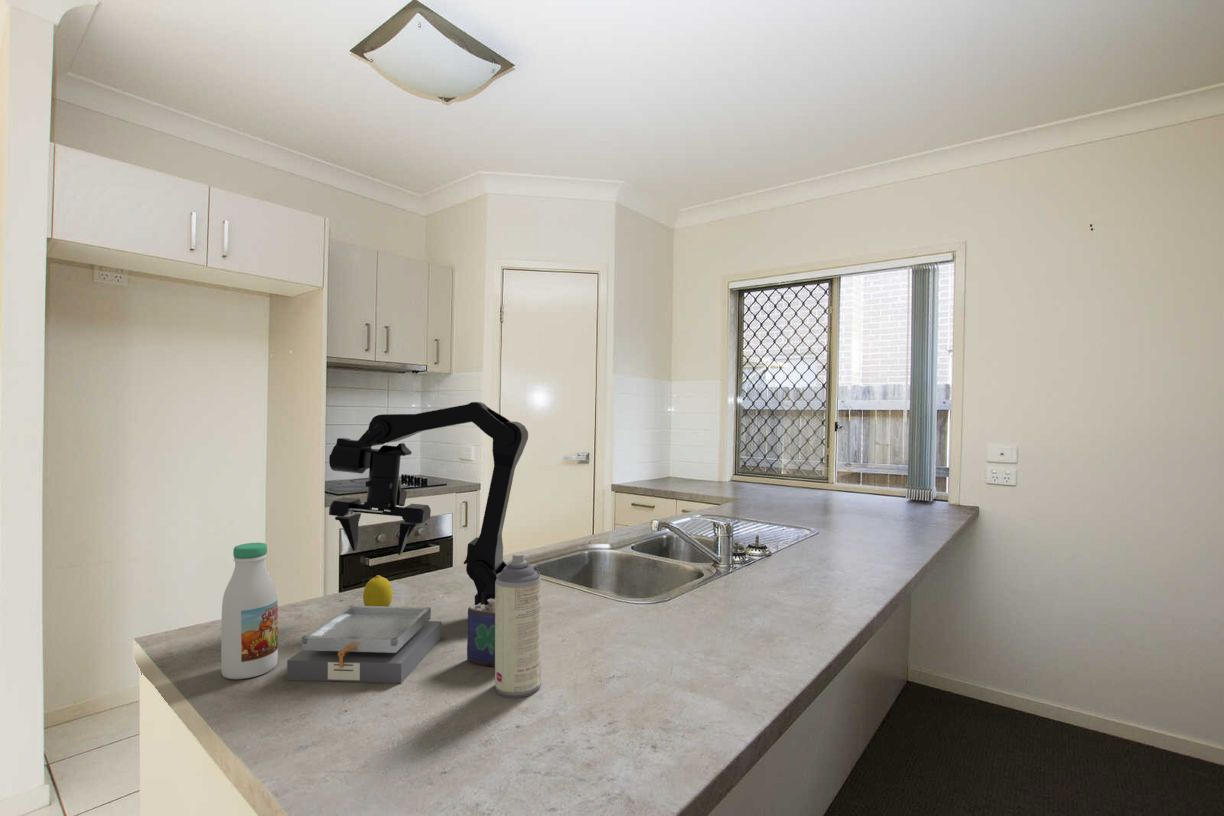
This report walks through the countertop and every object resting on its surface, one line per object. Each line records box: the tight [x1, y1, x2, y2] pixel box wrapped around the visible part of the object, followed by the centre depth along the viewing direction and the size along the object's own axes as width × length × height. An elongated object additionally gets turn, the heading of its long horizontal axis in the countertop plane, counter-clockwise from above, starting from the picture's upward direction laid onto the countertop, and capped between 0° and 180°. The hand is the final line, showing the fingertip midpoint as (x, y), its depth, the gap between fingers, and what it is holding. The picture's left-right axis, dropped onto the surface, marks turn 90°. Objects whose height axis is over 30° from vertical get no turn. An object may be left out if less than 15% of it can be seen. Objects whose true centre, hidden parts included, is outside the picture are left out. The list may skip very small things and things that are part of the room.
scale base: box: [286, 620, 443, 684], centre depth 100 cm, size 18×18×3 cm
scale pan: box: [301, 605, 432, 668], centre depth 99 cm, size 15×17×4 cm
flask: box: [466, 598, 495, 668], centre depth 98 cm, size 9×3×11 cm, turn 74°
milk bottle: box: [220, 542, 279, 680], centre depth 95 cm, size 8×8×20 cm
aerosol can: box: [494, 552, 542, 699], centre depth 90 cm, size 7×7×20 cm
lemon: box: [362, 574, 393, 607], centre depth 121 cm, size 6×6×8 cm
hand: (377, 552), depth 121 cm, fingers open, 9 cm apart
